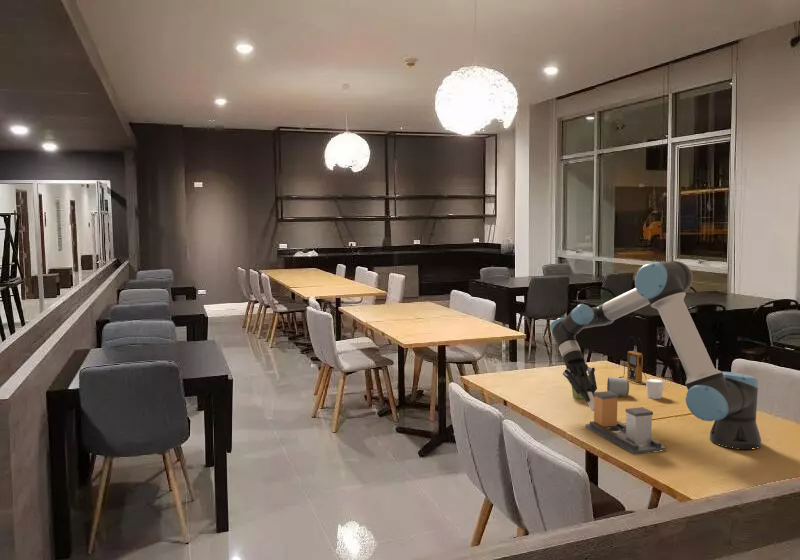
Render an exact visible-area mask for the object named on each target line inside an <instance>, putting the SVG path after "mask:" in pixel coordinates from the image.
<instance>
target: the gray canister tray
mask: <svg viewBox="0 0 800 560" xmlns="http://www.w3.org/2000/svg"><path fill="white" fill-rule="evenodd" d="M625 413H626V415H625V416H626V417H625V419H626V422H625V423H623V422H621V421H619V420H617V425H616V426H607V427H603V426H601V425H600V424H598V423H596V422H594V420H593V421H589V423H587V424H585V428H586V429H588V430H590V431H592V432H593V433H595V434H596V435H598V436H600V437H602V438H604V439H606V440H608V441H609V442H610V443H612V444H614V445H616V446H618V447H619V448H621V449H623V450H625V451H627V452H628V453H630V454H632V455H640V454H641V455H642V454H648V452H650V453H655V452H654V451H658V452H661V451H660V450H665V449H666V450H667V446H664V445H663V444H662V442H660V441H658V440H657V439H654V438H653V437H652V430H653V429H652V425H653V424H652V421H653V420H652V419H653V414H654V412H653V411H652V410H650V409H647V408H646V407H642V406H641V407H633V408H632V407H630V408H625Z"/></svg>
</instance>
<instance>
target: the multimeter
mask: <svg viewBox="0 0 800 560" xmlns="http://www.w3.org/2000/svg"><path fill="white" fill-rule="evenodd" d="M630 338H633V340H634V342H635V344H634V346H633V347H634V349H633V350H629V351H627V368H626V367H625V362H623V376H619V377H618V378H624V377H625V374H626V375H627V377H626V378H627V380H628V381H629V383H632V384H635V385H637V386H638V385H639V386H646V383H642V384H641V382H643V374H644V377H645V381H646V380H647V379H648V378H647V376H646V373H645V372H644V368H643V366H644V365H643V362H644V353H643V352H644V346H643V343H642V340H641V338H639V337H637V339H635V337H634V336H629V337H628V338H627V340H626V344H625V347H624V349H626V348H627V344H628V342H629V339H630ZM638 340H639V342H640V344H641V349H642V351H641V352H638V349H637V347H638V346H637V345H638V344H637V342H638ZM625 353H626V350H624V352H623V355H625ZM625 368H626V369H627V373H625V370H626V369H625ZM634 382H635V383H634Z"/></svg>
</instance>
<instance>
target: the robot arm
mask: <svg viewBox="0 0 800 560" xmlns="http://www.w3.org/2000/svg"><path fill="white" fill-rule="evenodd" d="M693 279H694V276H693V272H692V269H690V267H689V266H688V265H687V264H685V263H684V262H681V261H678V260H670V261H660V262H659V261H653V262H651V263H646V264H644V265H643V266H641V267H640V268H639V269H638V271H637V272H636V275H635V278H634V286H635V287H634V288H633V289H631V290H628V291H626V292H623V293H622V294H619V295H618V296H616V297H614V298H612V299H610V300H608V301H606V302H604V303H601V304H600V305H598V306H595V307H590V306H589V305H587V304H584V303H580V304H577V306H576V307H575V308H573V309H572V310H571V311H570V312H569V314H567V316H566V317H559V318H557V319H555V320H553V321H552V322H551V323H550V325H549V326H550V330H551V335H552V336H553V339H554V341H555V343H556V345H557V347H558V350H559V353H560V355H561V358H562V360H563V363H564V365H565V367H566V369H565V370H563V372H562V376H564V377H565V378H566V379H567V381H568V383H569V384H570V385H571V388H572V387H573V388H574V390H575V391H576V393H577V394H581V396H584V399H583V400H584V401H585V403H587V404H588V406H589V408H590V411H591V412H594V392H597V390H598V385H597V381H596V375H595V371H596V368H595V367H589V366H588V364H587V363H586V359H585V357H584V355H583V352H582V350H581V347H580V345H579V343H578V341H577V339H576V335H578V334H579V333H580V332H581V331H582V330H583V329H589V328H594V327H595V328H596V327H602V326H603V327H604V326H607V325H608V326H609V325H610V324H613V323H614V322H615V320H617V319H620V318H622V317H623V316H626V315H628V314H630V313H632V312H634V311H637V310H639V309H641V308H644V307H646V306H648V305H649V306H650V307H651V308H653V309H656V310H657V311H658V314H659V316H660V317H661V320H662V322H663V324H664V326H665V329H666V331H667V334H668V335H669V338H670V340H671V343H672V345H673V346H674V350H675V352H676V354H677V357H678V358H679V360H680V362H681V366H682V368H683V369H684V372H685V375H686V376H687V379H686V381H685V386H686V388H687V392H686V396H685V404H686V407H687V408H688V411H689V412H690V413H691V414H692V415H693V416H694V417H696V418H697V419H699V420H701V421H704V422H713V424H712V427H711V429H710V433H709V440H710V441H711V442H712V441H713V442H715V443H717V444H720V445H723V446H727V447H731V448H730V449H732V447H733V448H739V449H752V448H757V447H760V446H761V447H762V437H761V434H760V431H759V427H758V424H757V410H758V409H757V407H758V393H759V392H758V390H759V387H758V386H759V385H758V384H759V383H758V379H757V378H756V377H755V376H752V375H749V374H744V373H738V372H732V371H722V370H719V369H717V368H715V366H714V364H713V362H712V359H711V357H710V355H709V353H708V351H707V349H706V346H705V344H704V342H703V339H702V338H701V335H700V334H699V330H698V329H697V327H696V325H695V322H694V320H693V318H692V316H691V313H690V312H689V309H688V307H687V305H686V303H685V301H684V299H685V297H686V294H687V293H686V291H688V290H689V289H690V288H691V287H692V283H693V281H694V280H693ZM587 375H589V379H588V376H587ZM589 380H590V381H589ZM713 442H712V443H713ZM715 443H714V444H715ZM717 444H716V445H717ZM720 445H719V446H720ZM723 446H722V447H723ZM727 447H726V448H727ZM761 447H760V448H761ZM739 449H738V450H739Z"/></svg>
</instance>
